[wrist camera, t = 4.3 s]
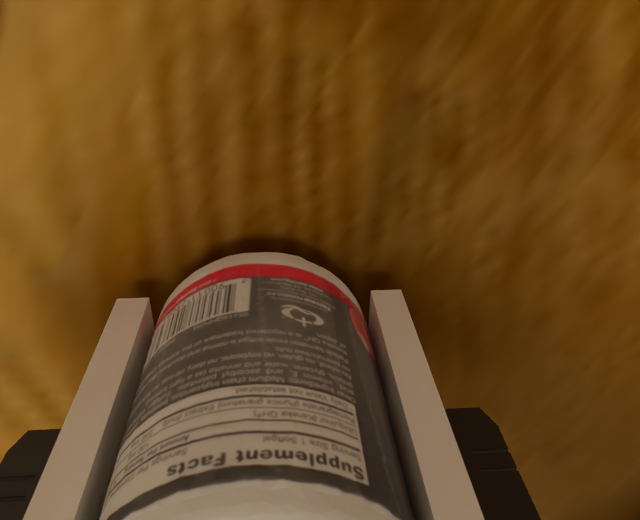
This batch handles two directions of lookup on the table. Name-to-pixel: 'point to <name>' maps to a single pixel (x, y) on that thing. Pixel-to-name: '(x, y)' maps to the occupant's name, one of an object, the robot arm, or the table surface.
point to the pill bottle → (259, 404)
